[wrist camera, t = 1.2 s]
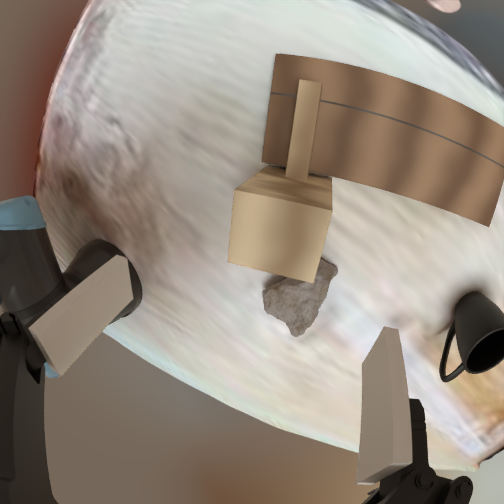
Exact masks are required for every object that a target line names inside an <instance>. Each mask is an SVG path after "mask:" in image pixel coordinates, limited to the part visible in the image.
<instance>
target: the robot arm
mask: <svg viewBox="0 0 504 504" xmlns="http://www.w3.org/2000/svg"><path fill="white" fill-rule="evenodd" d="M46 226H47V225H46V222H45V221H44V219H43V216H42V213H41V210H40V207H39V204H38V202H37V200H36V199H35V198H34V197H32V196H29V195H26V196H21V197H16V198H13V199H9V200H5V201H2V202H0V307H1V309H2V310H3V312H4V313H3V314H2V315H1V316H0V504H58V503H57V502H56V500H55V499H54V497H53V495H52V491H51V485H50V480H49V473H48V466H47V457H46V447H45V432H44V383H45V376H47V377H49V378H56V377H58V376H62V375H63V374H64V373H65V371H66V370H67V369H68V368H69V367H70V366H71V365H72V364H73V362H74V361H75V360H76V359H77V358H78V357H79V356H80V354H81V353H82V352H83V351H84V350H85V349H86V348H87V347H88V346H89V345H90V343H91V342H92V341H93V340H94V339H95V338H96V337H97V336H98V335H99V334H100V333H101V332H102V331H103V330H104V329H105V328H106V326H107V325H109V324H111V323H113V322H115V321H117V320H118V319H120V318H122V317H126V316H128V315H130V314H131V313H132V312H133V311H134V310H135V309H136V308H137V307H138V306H139V304H140V302H141V299H142V289H141V284H140V281H139V278H138V276H137V274H136V271H135V270H134V268H133V266H132V265H131V263H130V262H129V260H128V259H127V258H126V257H125V256H124V255H123V253H122V252H120V251H119V250H118V249H117V248H116V247H114V246H113V245H111V244H110V243H108V242H105V241H102V240H94V241H91V242H89V243H88V244H86V245H85V246H83V247H82V248H81V249H80V250H79V252H78V253H77V255H76V257H75V258H74V259H73V261H72V262H71V263H70V265H69V266H68V268H67V269H66V271H65V272H64V273H62V272H61V270H60V267H59V264H58V262H57V259H56V256H55V254H54V251H53V248H52V245H51V242H50V239H49V236H48V233H47V230H46ZM379 481H380V487H379V488H376V489H374V490H372V491H371V492H369V493H368V495H370V494H371V495H370V496H369V497H368V498H367V499H366V500H365V501H364V502H363V503H362V504H469V501H470V498H471V495H472V491H473V484H472V481H471V479H470V478H468V477H467V476H461V477H458V478H456V479H454V480H451V479H447V478H443V477H439V476H437V475H436V473H435V471H434V470H433V469H432V468H431V467H429V463H428V448H427V433H426V423H425V413H424V408H423V406H422V404H421V402H420V400H419V399H410V398H409V396H408V387H407V379H406V372H405V365H404V359H403V353H402V347H401V342H400V337H399V332H398V329H394V328H389V327H383V329H382V331H381V333H380V335H379V336H378V338H377V340H376V342H375V343H374V345H373V347H372V348H371V350H370V352H369V354H368V355H367V357H366V358H365V360H364V362H363V363H362V414H361V433H360V447H359V459H358V468H357V476H356V484H375V483H376V482H379Z"/></svg>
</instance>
